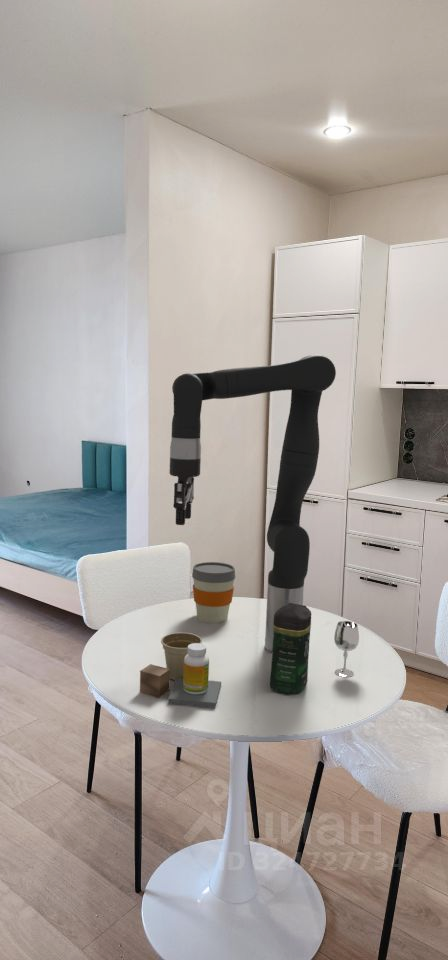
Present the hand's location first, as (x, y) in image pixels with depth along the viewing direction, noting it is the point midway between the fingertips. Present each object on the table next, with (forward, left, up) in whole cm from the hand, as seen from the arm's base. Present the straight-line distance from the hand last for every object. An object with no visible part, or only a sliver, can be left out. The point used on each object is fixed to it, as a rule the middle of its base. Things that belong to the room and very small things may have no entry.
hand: (183, 521), depth 157 cm
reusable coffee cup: (-5, -25, -33) cm, 42 cm away
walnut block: (+1, +24, -33) cm, 41 cm away
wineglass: (-41, +6, -33) cm, 53 cm away
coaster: (-8, +24, -33) cm, 42 cm away
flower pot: (-3, +15, -33) cm, 37 cm away
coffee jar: (-28, +16, -33) cm, 46 cm away
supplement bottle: (-8, +24, -32) cm, 41 cm away
